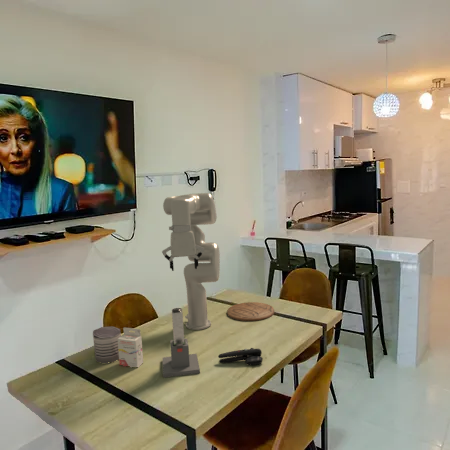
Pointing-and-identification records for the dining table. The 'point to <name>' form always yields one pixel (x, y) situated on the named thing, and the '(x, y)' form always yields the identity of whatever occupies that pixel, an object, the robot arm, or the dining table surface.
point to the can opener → (242, 356)
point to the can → (106, 344)
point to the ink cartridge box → (130, 348)
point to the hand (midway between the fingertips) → (184, 269)
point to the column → (178, 326)
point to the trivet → (250, 311)
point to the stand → (180, 361)
